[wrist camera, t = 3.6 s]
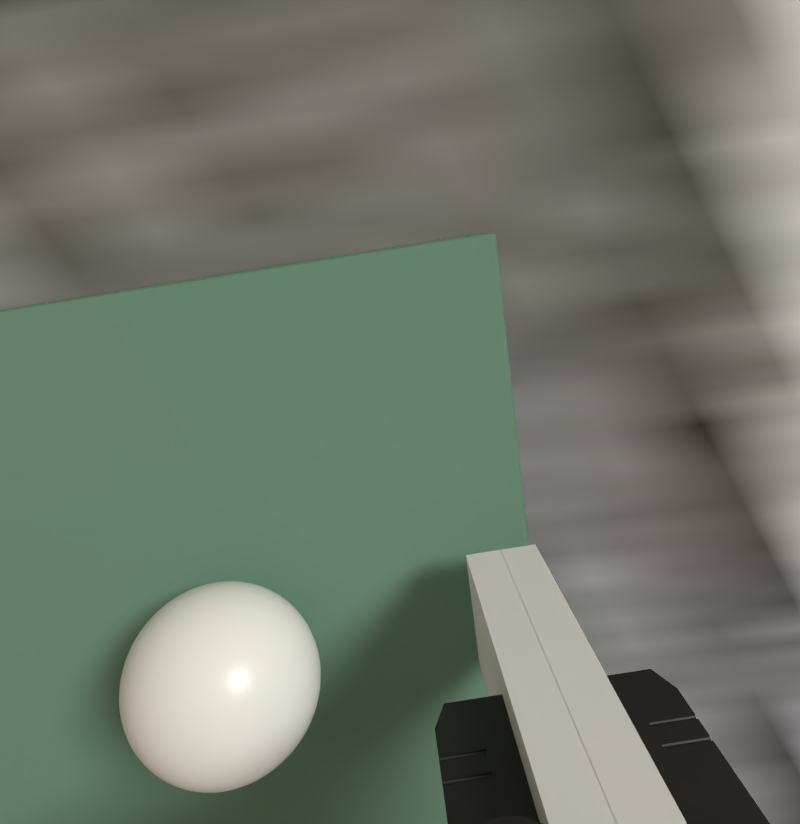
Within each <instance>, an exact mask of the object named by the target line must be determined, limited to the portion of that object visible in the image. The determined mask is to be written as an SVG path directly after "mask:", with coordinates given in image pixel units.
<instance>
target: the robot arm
mask: <svg viewBox="0 0 800 824" xmlns="http://www.w3.org/2000/svg"><path fill="white" fill-rule="evenodd" d="M466 561H467V569H468V577H469V584H470V592H471V600H472V608H473V616H474V624H475V632H476V640H477V648H478V655H479V663H480V667H481V671H482V674H483V678H484V682H485V686H486V690H487V693H488V697H482V698H476V699H469V700H463V701H456V702H450V703H444V704H443V707H442V710H441V713H440V715H439V718H438V721H437V724H436V727H435V735H436V742H437V749H438V756H439V764H440V771H441V778H442V785H443V793H444V800H445V807H446V815H447V822H448V824H770V823H769V822H768V820H767V819H766V817H765V816H764V815H763V813H762V812H761V810H760V809H759V807H758V806H757V804H756V803H755V801H754V800H753V798H752V797H751V796H750V794H749V793H748V791H747V790H746V788H745V787H744V785H743V784H742V782H741V781H740V779H739V778H738V777H737V775H736V774H735V772H734V771H733V769H732V768H731V766H730V765H729V763H728V762H727V760H726V759H725V758H724V756H723V755H722V753H721V752H720V750H719V749H718V747H717V746H716V744H715V743H714V741H711V740H710V737H709V734H708V733H707V731H706V730H705V728H704V727H703V725H702V724H701V722H700V721H699V720H698V719H696V717H695V714H694V712H693V711H692V709H691V708H690V706H689V705H688V703H687V702H686V701H685V699H684V698H683V696H682V695H681V693H680V692H679V690H678V689H677V688H676V687H674V686H673V685H672V684H670V683H669V682H668V681H666V680H665V679H663V678H662V677H661V676H659V675H658V674H657V673H655V672H654V671H653V670H651V669H647V670H641V671H635V672H628V673H622V674H615V675H609V676H607V675H606V674H605V672H604V670H603V668H602V666H601V664H600V663H599V661H598V659H597V657H596V655H595V653H594V652H593V650H592V648H591V646H590V644H589V642H588V640H587V639H586V637H585V635H584V633H583V631H582V629H581V628H580V626H579V624H578V622H577V620H576V618H575V617H574V615H573V613H572V611H571V609H570V607H569V606H568V604H567V602H566V600H565V598H564V596H563V595H562V593H561V591H560V589H559V587H558V585H557V583H556V582H555V580H554V578H553V576H552V574H551V572H550V571H549V569H548V567H547V565H546V563H545V561H544V560H543V558H542V556H541V554H540V552H539V550H538V549H537V547H536V545H535V544H534V545H528V546H521V547H515V548H508V549H502V550H495V551H489V552H482V553H476V554H469V555H466Z"/></svg>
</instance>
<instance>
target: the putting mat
mask: <svg viewBox="0 0 800 824" xmlns="http://www.w3.org/2000/svg"><path fill="white" fill-rule="evenodd" d="M528 545H529V542H528V532H527V523H526V514H525V504H524V495H523V486H522V477H521V467H520V458H519V449H518V439H517V430H516V421H515V411H514V402H513V393H512V383H511V374H510V365H509V356H508V346H507V337H506V328H505V318H504V309H503V300H502V290H501V281H500V272H499V262H498V253H497V244H496V234H495V233H493V234H475V235H468V236H462V237H456V238H449V239H443V240H437V241H431V242H424V243H418V244H412V245H405V246H399V247H393V248H387V249H380V250H374V251H368V252H362V253H355V254H349V255H343V256H336V257H330V258H324V259H318V260H311V261H305V262H299V263H292V264H286V265H280V266H274V267H267V268H261V269H255V270H249V271H242V272H236V273H230V274H223V275H217V276H211V277H205V278H198V279H192V280H186V281H179V282H173V283H167V284H161V285H154V286H148V287H142V288H136V289H129V290H123V291H117V292H110V293H104V294H98V295H92V296H85V297H79V298H73V299H67V300H60V301H54V302H48V303H41V304H35V305H29V306H23V307H16V308H10V309H4V310H0V824H448V822H447V815H446V807H445V800H444V793H443V785H442V778H441V771H440V764H439V756H438V749H437V742H436V735H435V727H436V724H437V721H438V718H439V715H440V713H441V710H442V707H443V704H444V703H450V702H456V701H463V700H469V699H476V698H482V697H488V693H487V690H486V686H485V682H484V678H483V674H482V671H481V667H480V663H479V655H478V648H477V640H476V632H475V624H474V616H473V608H472V600H471V592H470V584H469V577H468V569H467V561H466V555H469V554H476V553H482V552H489V551H495V550H502V549H508V548H515V547H521V546H528ZM222 581H240V582H247V583H252V584H256V585H259V586H262V587H265V588H267V589H269V590H271V591H273V592H275V593H277V594H279V595H280V596H281V597H283V598H284V599H286V600H287V601H288V602H289V603H290V604H291V605H292V606H294V608H295V609H296V610H297V611H298V612H299V613H300V615H301V616H302V617H303V618H304V620H305V621H306V623H307V625H308V626H309V628H310V631H311V633H312V635H313V637H314V639H315V642H316V645H317V649H318V653H319V659H320V666H321V681H320V692H319V698H318V702H317V707H316V710H315V713H314V716H313V718H312V721H311V723H310V725H309V727H308V729H307V731H306V733H305V735H304V736H303V738H302V739H301V741H300V743H299V744H298V745H297V747H296V748H295V749H294V751H293V752H292V753H291V754H290V755H289V756H288V757H287V758H286V759H285V760H284V761H283V762H282V763H281V764H280V765H279V766H278V767H277V768H275V769H274V770H273V771H271V772H270V773H269V774H267V775H266V776H264V777H262V778H261V779H259V780H257V781H255V782H253V783H251V784H249V785H246V786H243V787H240V788H237V789H234V790H230V791H225V792H217V793H201V792H193V791H189V790H184V789H181V788H178V787H175V786H173V785H171V784H169V783H166V782H165V781H163V780H161V779H160V778H158V777H157V776H156V775H154V774H153V773H152V772H151V771H150V770H149V769H147V768H146V767H145V766H144V764H143V763H142V762H141V761H140V760H139V758H138V757H137V756H136V755H135V753H134V751H133V750H132V748H131V746H130V744H129V742H128V740H127V737H126V735H125V732H124V730H123V726H122V722H121V717H120V710H119V689H120V679H121V675H122V671H123V667H124V663H125V660H126V658H127V655H128V653H129V651H130V648H131V646H132V644H133V642H134V640H135V639H136V637H137V636H138V634H139V632H140V631H141V630H142V628H143V627H144V626H145V624H146V623H147V622H148V621H149V620H150V618H151V617H152V616H153V615H154V614H155V613H156V612H157V611H159V610H160V609H161V608H162V607H163V606H164V605H165V604H167V603H168V602H170V601H171V600H173V599H174V598H176V597H177V596H179V595H181V594H182V593H184V592H186V591H188V590H191V589H193V588H196V587H199V586H202V585H205V584H210V583H214V582H222Z"/></svg>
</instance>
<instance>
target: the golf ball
mask: <svg viewBox="0 0 800 824" xmlns="http://www.w3.org/2000/svg"><path fill="white" fill-rule="evenodd" d="M320 681H321V666H320V659H319V653H318V649H317V645H316V642H315V639H314V637H313V635H312V633H311V631H310V628H309V626H308V625H307V623H306V621H305V620H304V618H303V617H302V616H301V615H300V613H299V612H298V611H297V610H296V609H295V608H294V606H292V605H291V604H290V603H289V602H288V601H287V600H286V599H284V598H283V597H281V596H280V595H279V594H277V593H275V592H273V591H271V590H269V589H267V588H265V587H262V586H259V585H256V584H252V583H247V582H240V581H222V582H214V583H210V584H205V585H202V586H199V587H196V588H193V589H191V590H188V591H186V592H184V593H182V594H181V595H179V596H177V597H176V598H174V599H173V600H171V601H170V602H168V603H167V604H165V605H164V606H163V607H162V608H161V609H160V610H159V611H157V612H156V613H155V614H154V615H153V616H152V617H151V618H150V620H149V621H148V622H147V623H146V624H145V626H144V627H143V628H142V630H141V631H140V632H139V634H138V636H137V637H136V639H135V640H134V642H133V644H132V646H131V648H130V651H129V653H128V655H127V658H126V660H125V663H124V667H123V671H122V675H121V679H120V689H119V710H120V717H121V722H122V726H123V730H124V732H125V735H126V737H127V740H128V742H129V744H130V746H131V748H132V750H133V751H134V753H135V755H136V756H137V757H138V758H139V760H140V761H141V762H142V763H143V764H144V766H145V767H146V768H147V769H149V770H150V771H151V772H152V773H153V774H154V775H156V776H157V777H158V778H160V779H161V780H163V781H165V782H166V783H169V784H171V785H173V786H175V787H178V788H181V789H184V790H189V791H193V792H201V793H217V792H225V791H230V790H234V789H237V788H240V787H243V786H246V785H249V784H251V783H253V782H255V781H257V780H259V779H261V778H262V777H264V776H266V775H267V774H269V773H270V772H271V771H273V770H274V769H275V768H277V767H278V766H279V765H280V764H281V763H282V762H283V761H284V760H285V759H286V758H287V757H288V756H289V755H290V754H291V753H292V752H293V751H294V749H295V748H296V747H297V745H298V744H299V743H300V741H301V739H302V738H303V736H304V735H305V733H306V731H307V729H308V727H309V725H310V723H311V721H312V718H313V716H314V713H315V710H316V707H317V702H318V698H319V692H320Z"/></svg>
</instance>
